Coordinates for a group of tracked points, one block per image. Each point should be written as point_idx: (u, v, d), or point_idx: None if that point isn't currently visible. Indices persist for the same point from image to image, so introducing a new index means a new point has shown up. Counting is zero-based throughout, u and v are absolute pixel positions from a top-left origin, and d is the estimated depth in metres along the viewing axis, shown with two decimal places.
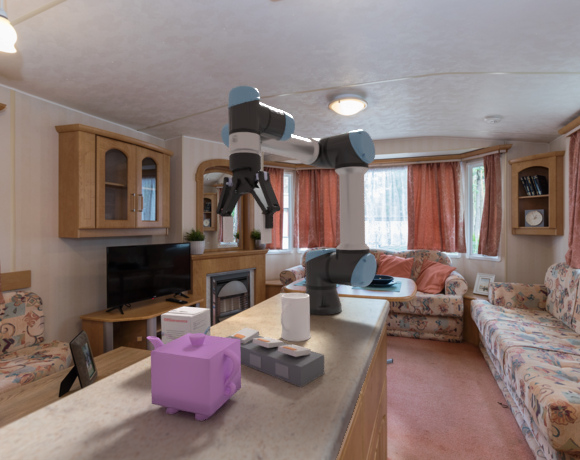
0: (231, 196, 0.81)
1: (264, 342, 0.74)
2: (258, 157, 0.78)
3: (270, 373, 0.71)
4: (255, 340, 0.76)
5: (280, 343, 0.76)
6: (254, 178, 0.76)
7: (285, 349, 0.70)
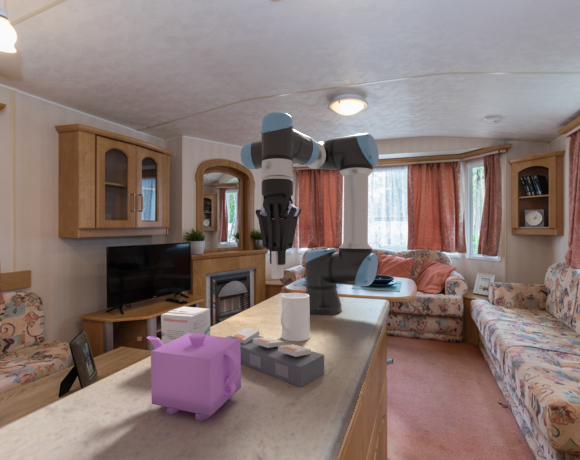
0: (270, 224, 0.79)
1: (264, 342, 0.74)
2: (291, 183, 0.78)
3: (270, 373, 0.71)
4: (255, 340, 0.76)
5: (280, 343, 0.76)
6: (287, 204, 0.76)
7: (285, 349, 0.70)
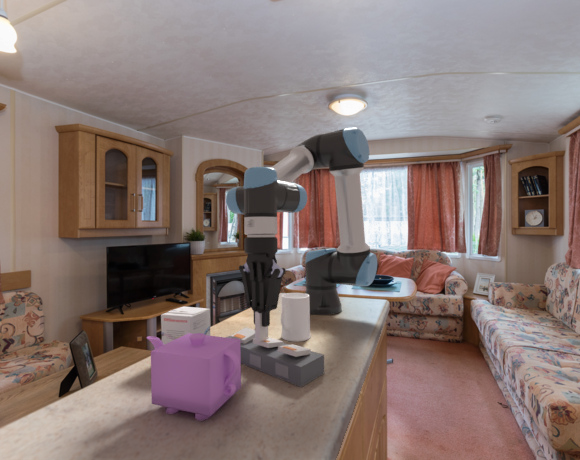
0: (254, 283, 0.75)
1: (264, 342, 0.74)
2: (275, 241, 0.74)
3: (270, 373, 0.71)
4: None
5: (280, 343, 0.76)
6: (271, 265, 0.72)
7: (285, 349, 0.70)
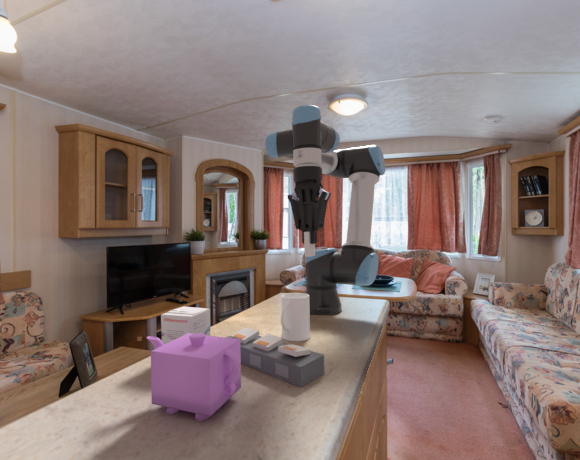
0: (302, 207, 0.87)
1: (264, 346, 0.74)
2: (321, 170, 0.86)
3: (270, 373, 0.71)
4: (255, 344, 0.76)
5: (280, 341, 0.76)
6: (318, 189, 0.84)
7: (285, 349, 0.70)
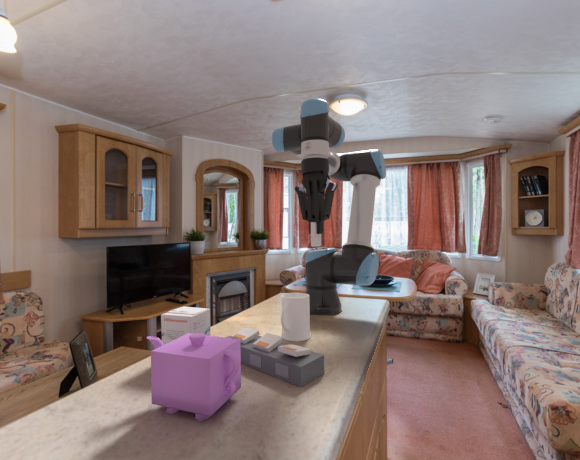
0: (309, 198, 0.89)
1: (264, 347, 0.74)
2: (328, 161, 0.88)
3: (270, 373, 0.71)
4: (255, 345, 0.76)
5: (280, 340, 0.76)
6: (325, 180, 0.86)
7: (285, 349, 0.70)
